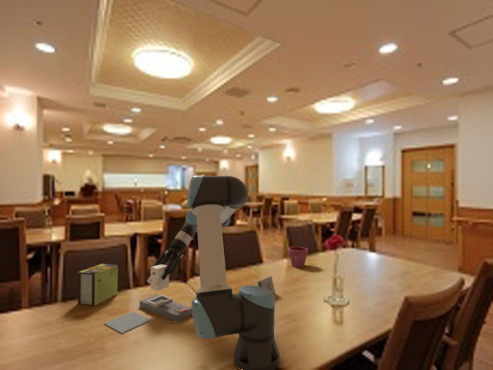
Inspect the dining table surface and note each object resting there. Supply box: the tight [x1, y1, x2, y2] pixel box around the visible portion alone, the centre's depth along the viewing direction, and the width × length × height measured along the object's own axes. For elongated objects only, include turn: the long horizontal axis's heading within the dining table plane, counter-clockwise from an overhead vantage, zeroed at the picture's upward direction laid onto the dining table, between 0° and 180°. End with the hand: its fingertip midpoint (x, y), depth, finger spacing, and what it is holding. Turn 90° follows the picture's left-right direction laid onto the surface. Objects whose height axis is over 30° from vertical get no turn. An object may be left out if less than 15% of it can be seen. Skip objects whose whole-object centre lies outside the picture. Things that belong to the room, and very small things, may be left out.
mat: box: [104, 311, 151, 335], centre depth 114 cm, size 13×13×1 cm
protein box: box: [77, 263, 119, 307], centre depth 138 cm, size 10×15×16 cm
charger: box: [150, 264, 170, 292], centre depth 127 cm, size 5×6×10 cm
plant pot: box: [287, 246, 309, 269], centre depth 199 cm, size 14×14×13 cm
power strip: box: [139, 294, 193, 323], centre depth 125 cm, size 26×9×4 cm, turn 55°
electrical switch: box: [257, 275, 276, 295], centre depth 145 cm, size 9×5×9 cm, turn 141°
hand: (153, 284), depth 124 cm, fingers closed on charger, 5 cm apart
